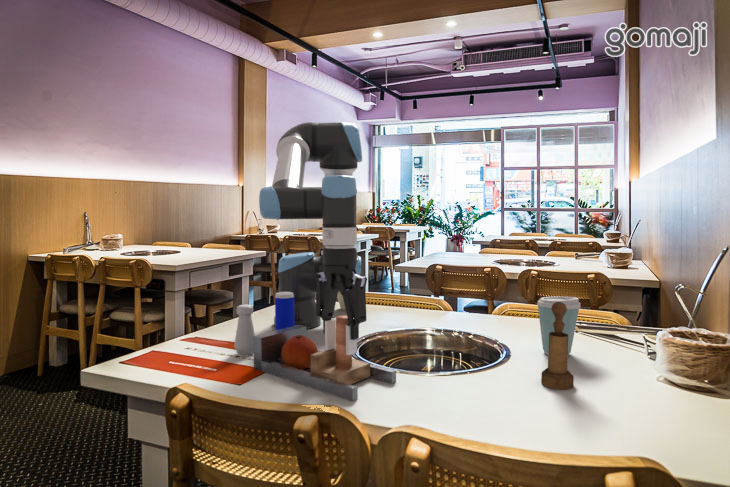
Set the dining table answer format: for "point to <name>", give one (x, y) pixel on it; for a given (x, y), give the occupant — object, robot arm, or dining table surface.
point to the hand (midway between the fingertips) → (340, 351)
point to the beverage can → (284, 310)
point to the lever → (339, 359)
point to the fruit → (298, 352)
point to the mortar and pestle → (558, 354)
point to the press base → (271, 362)
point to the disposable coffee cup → (549, 318)
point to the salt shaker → (244, 331)
